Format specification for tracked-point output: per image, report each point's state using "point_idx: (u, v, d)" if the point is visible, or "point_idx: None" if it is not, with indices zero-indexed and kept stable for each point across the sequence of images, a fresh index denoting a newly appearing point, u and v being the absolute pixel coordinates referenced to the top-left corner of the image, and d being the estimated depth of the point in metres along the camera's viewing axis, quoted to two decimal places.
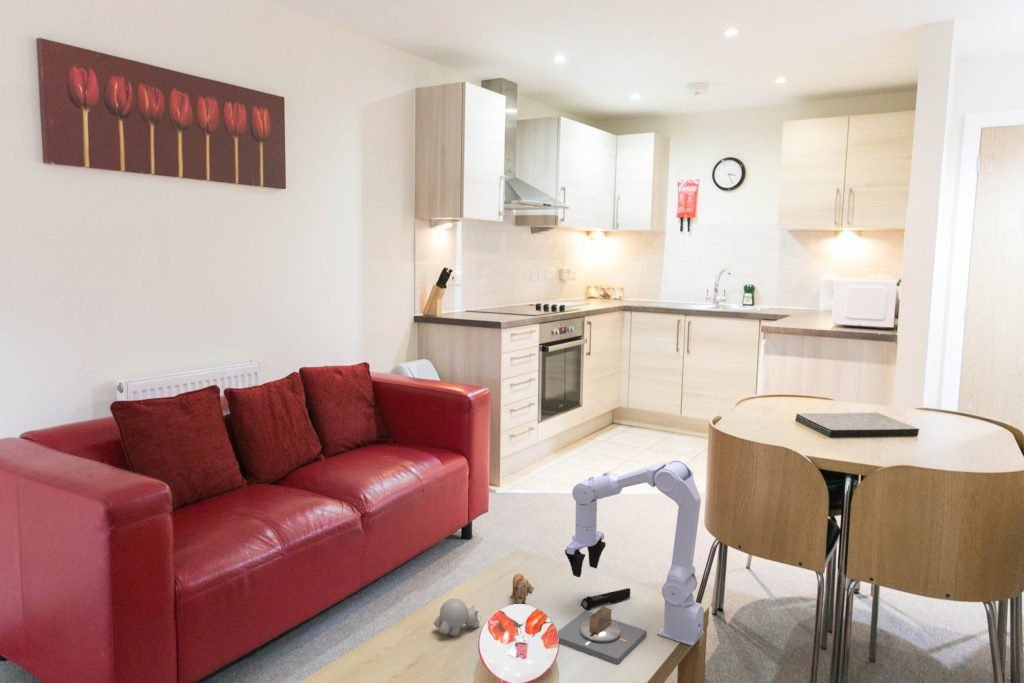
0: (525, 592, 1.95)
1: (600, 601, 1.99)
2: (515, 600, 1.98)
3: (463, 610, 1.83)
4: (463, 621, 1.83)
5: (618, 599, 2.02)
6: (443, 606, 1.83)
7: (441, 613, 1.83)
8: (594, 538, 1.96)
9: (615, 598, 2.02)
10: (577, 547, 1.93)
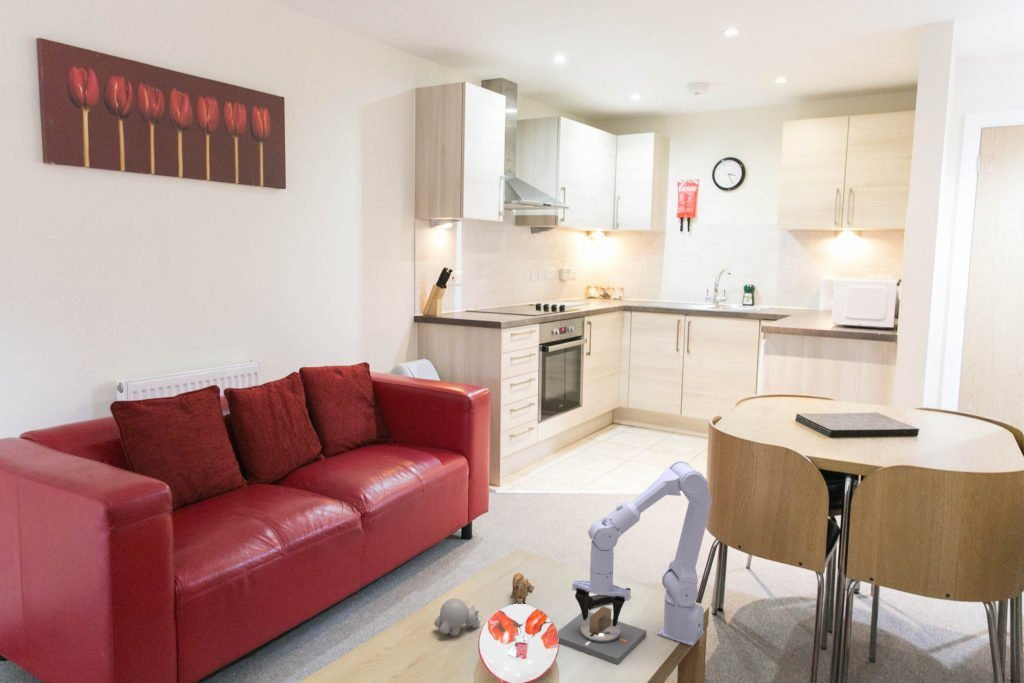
0: (525, 591, 1.95)
1: (600, 601, 1.99)
2: (515, 599, 1.98)
3: (463, 609, 1.83)
4: (463, 621, 1.83)
5: None
6: (443, 606, 1.84)
7: (441, 613, 1.83)
8: (598, 587, 1.79)
9: None
10: (578, 586, 1.82)
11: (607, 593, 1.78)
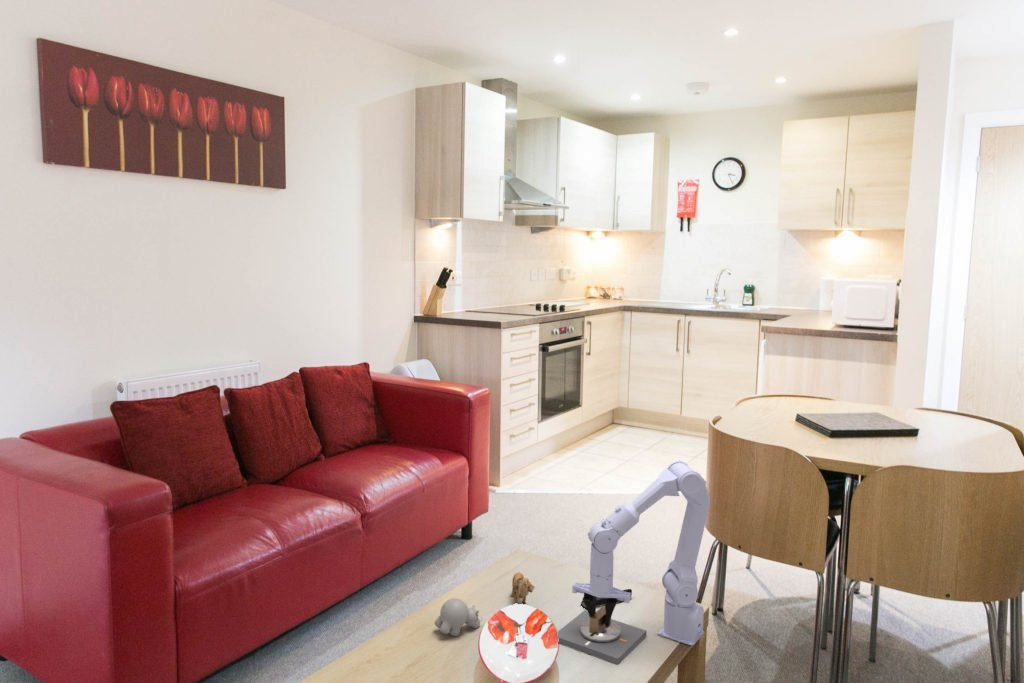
0: (526, 591, 1.95)
1: (600, 601, 1.99)
2: (515, 599, 1.99)
3: (464, 609, 1.83)
4: (464, 621, 1.83)
5: (619, 600, 2.02)
6: (444, 606, 1.84)
7: (442, 613, 1.83)
8: (598, 590, 1.79)
9: None
10: (578, 588, 1.82)
11: (607, 596, 1.78)
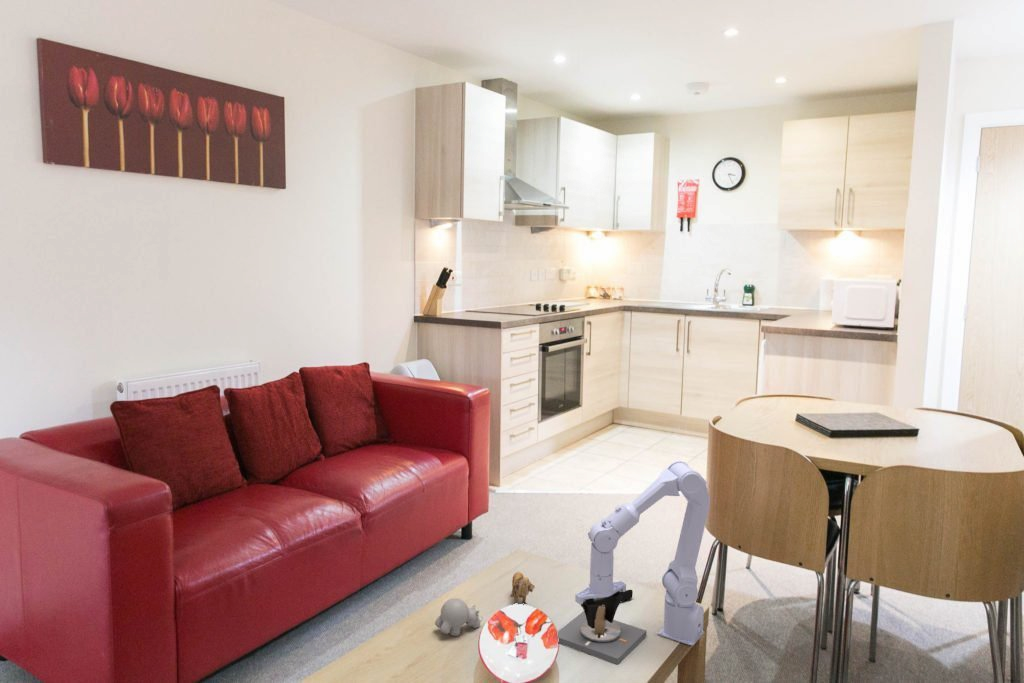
0: (526, 590, 1.96)
1: (600, 601, 1.99)
2: (515, 598, 1.99)
3: (464, 609, 1.83)
4: (464, 621, 1.83)
5: None
6: (444, 606, 1.84)
7: (442, 613, 1.83)
8: (608, 589, 1.79)
9: None
10: (586, 597, 1.78)
11: (614, 591, 1.81)
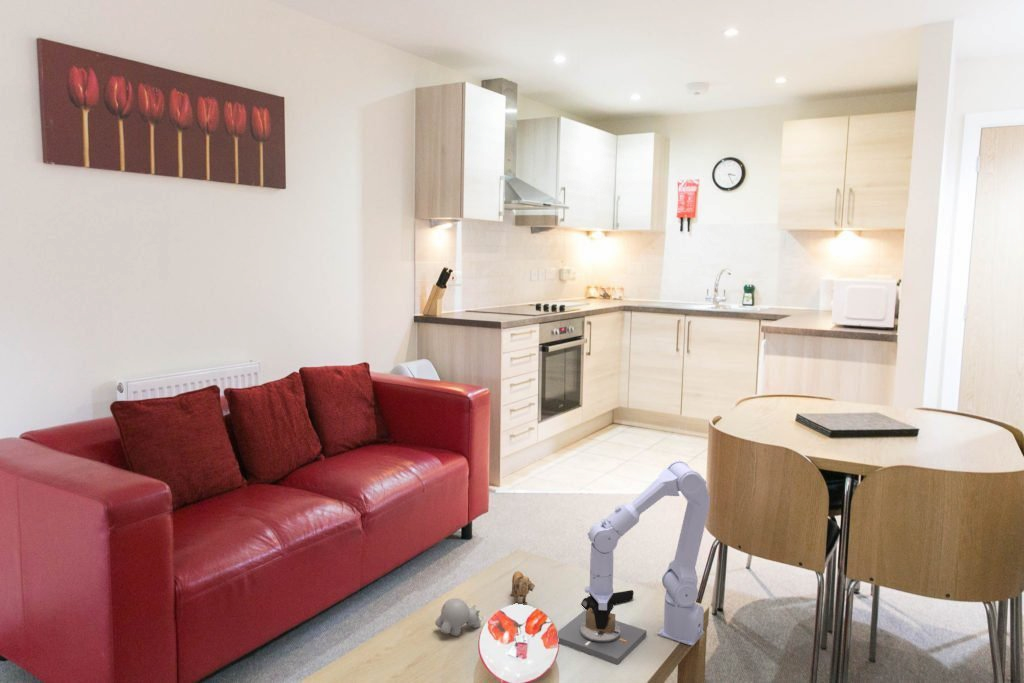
0: (526, 589, 1.96)
1: None
2: (516, 598, 2.00)
3: (464, 609, 1.83)
4: (464, 621, 1.83)
5: (620, 601, 2.01)
6: (444, 606, 1.84)
7: (442, 613, 1.83)
8: None
9: (616, 599, 2.01)
10: (607, 600, 1.76)
11: None
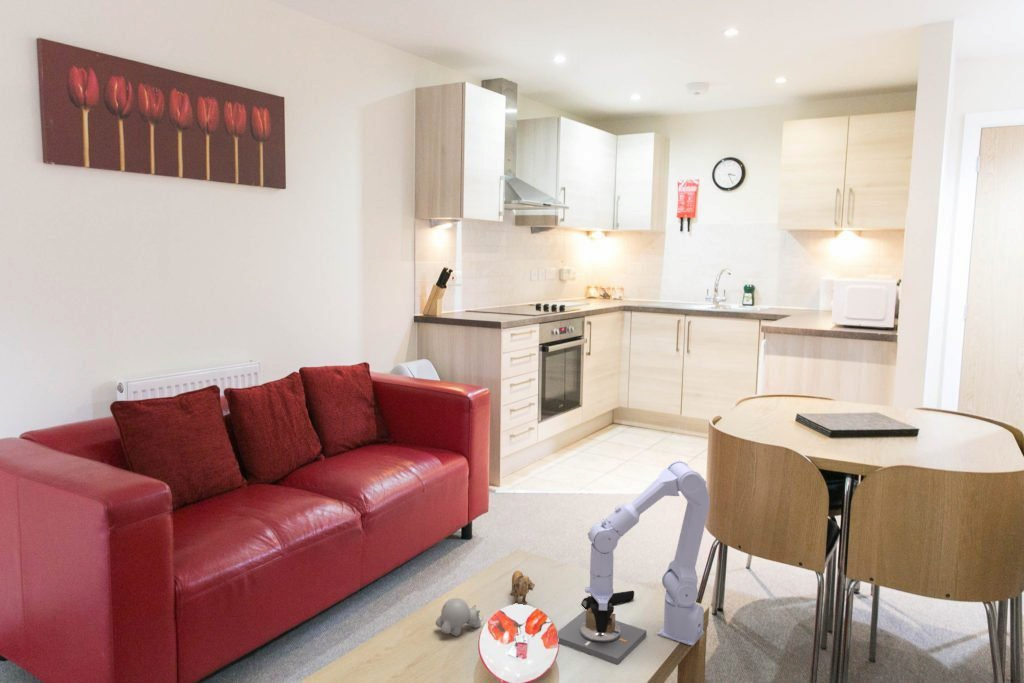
0: (526, 589, 1.96)
1: None
2: (516, 597, 2.00)
3: (465, 609, 1.83)
4: (465, 621, 1.83)
5: (620, 601, 2.01)
6: (445, 606, 1.84)
7: (443, 613, 1.83)
8: None
9: (617, 600, 2.01)
10: (607, 600, 1.76)
11: None
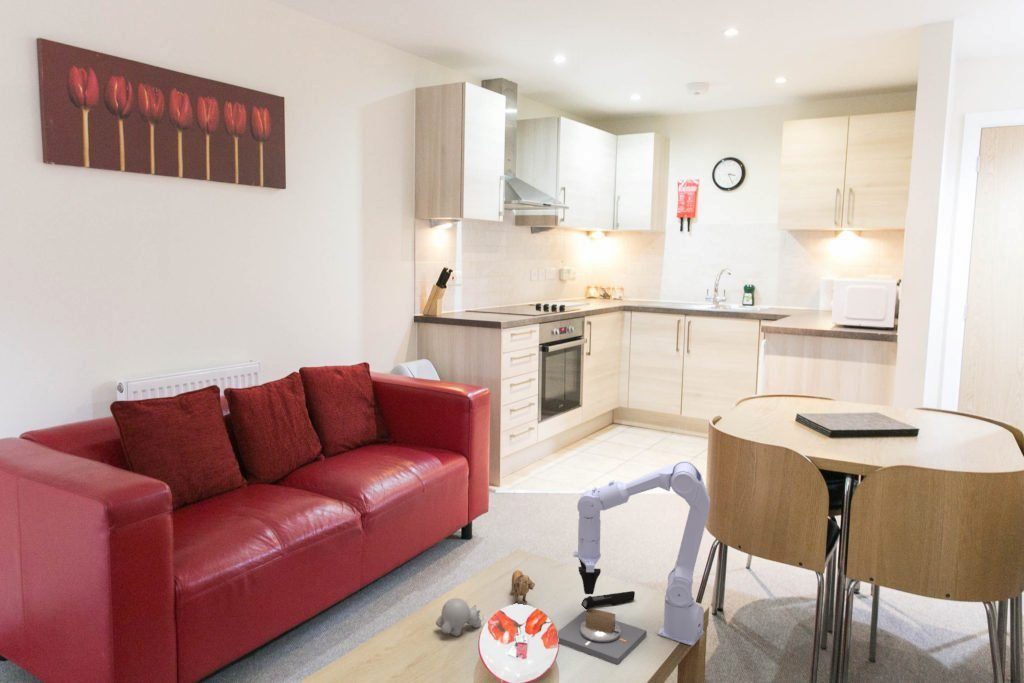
0: (526, 588, 1.97)
1: (601, 602, 1.99)
2: (516, 596, 2.00)
3: (465, 609, 1.83)
4: (465, 621, 1.83)
5: (620, 601, 2.01)
6: (445, 606, 1.84)
7: (443, 613, 1.83)
8: None
9: (617, 600, 2.01)
10: (594, 563, 1.84)
11: None
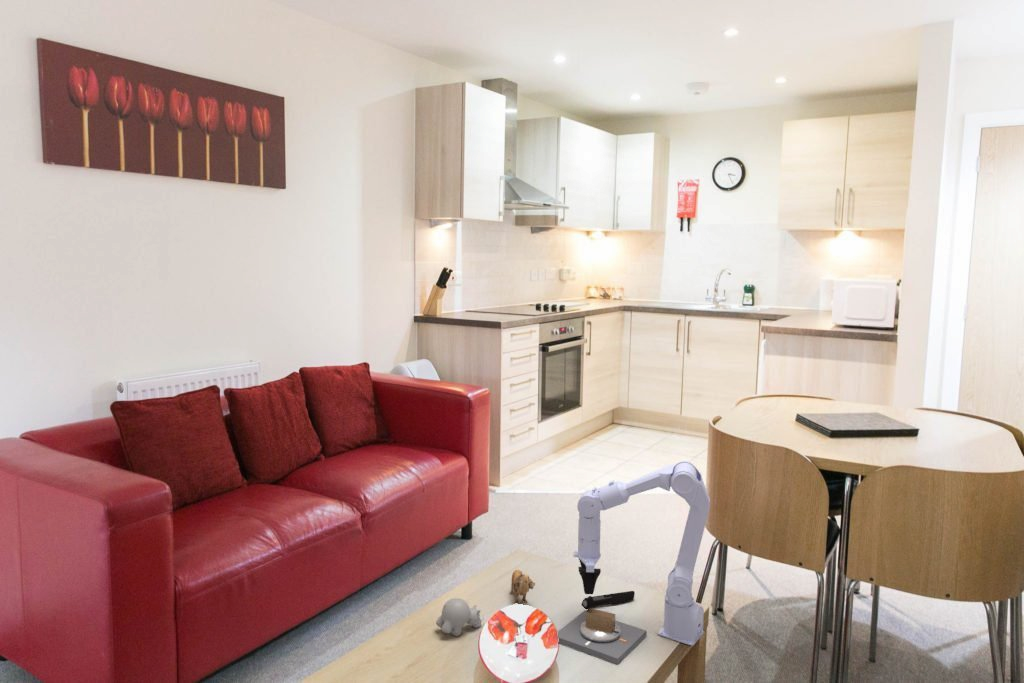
0: (527, 588, 1.97)
1: (601, 602, 1.99)
2: (516, 596, 2.01)
3: (465, 609, 1.83)
4: (465, 621, 1.83)
5: (620, 601, 2.01)
6: (445, 606, 1.84)
7: (443, 613, 1.83)
8: None
9: (617, 600, 2.01)
10: (594, 563, 1.84)
11: None
